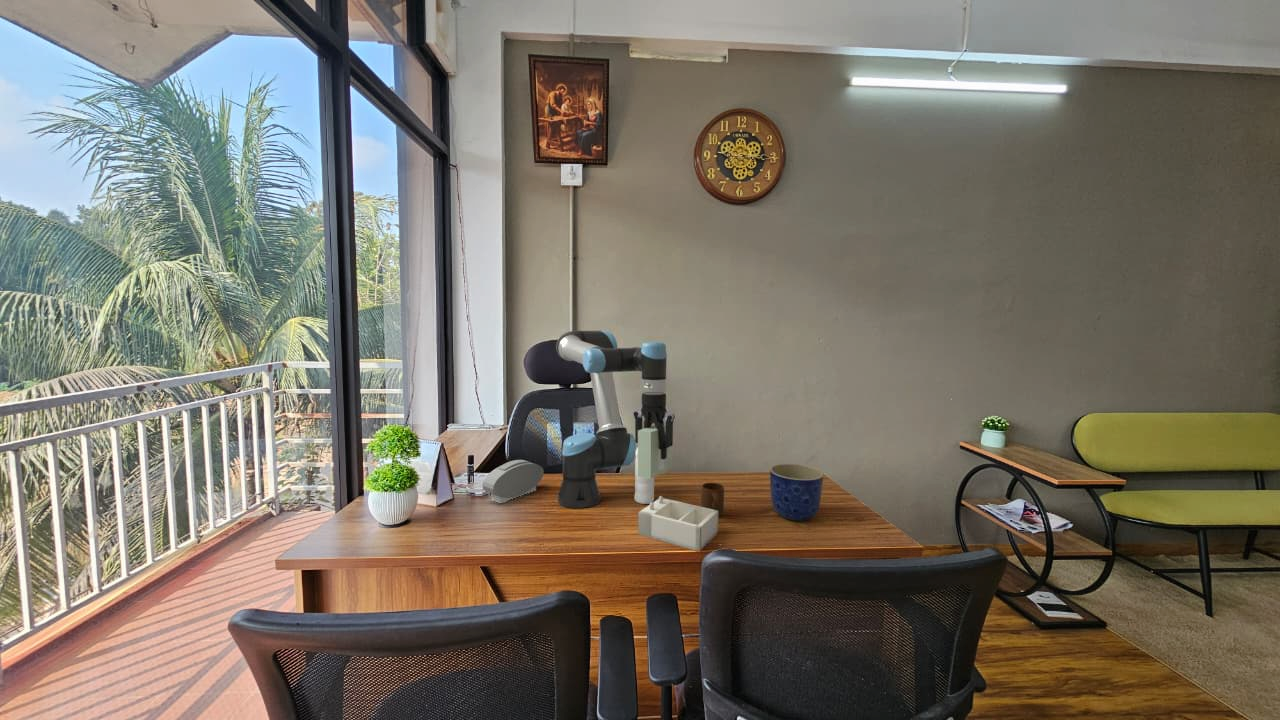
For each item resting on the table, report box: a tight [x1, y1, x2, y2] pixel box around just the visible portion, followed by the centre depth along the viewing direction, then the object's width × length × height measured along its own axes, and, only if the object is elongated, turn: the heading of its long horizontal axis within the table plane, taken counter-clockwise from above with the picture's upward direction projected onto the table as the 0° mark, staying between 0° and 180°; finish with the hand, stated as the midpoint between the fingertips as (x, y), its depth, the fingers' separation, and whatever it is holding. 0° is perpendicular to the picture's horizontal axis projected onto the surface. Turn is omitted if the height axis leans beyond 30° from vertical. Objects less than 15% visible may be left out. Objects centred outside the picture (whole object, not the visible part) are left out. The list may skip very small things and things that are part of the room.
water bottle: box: [634, 446, 655, 505], centre depth 168 cm, size 7×7×25 cm
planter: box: [769, 463, 825, 522], centre depth 157 cm, size 17×17×15 cm
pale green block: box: [637, 424, 669, 479], centre depth 146 cm, size 4×11×14 cm, turn 148°
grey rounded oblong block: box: [482, 459, 545, 503], centre depth 173 cm, size 23×6×13 cm, turn 144°
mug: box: [700, 482, 725, 518], centre depth 157 cm, size 12×8×9 cm, turn 0°
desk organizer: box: [637, 495, 719, 552], centre depth 143 cm, size 20×14×9 cm
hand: (653, 467), depth 146 cm, fingers closed on pale green block, 4 cm apart
